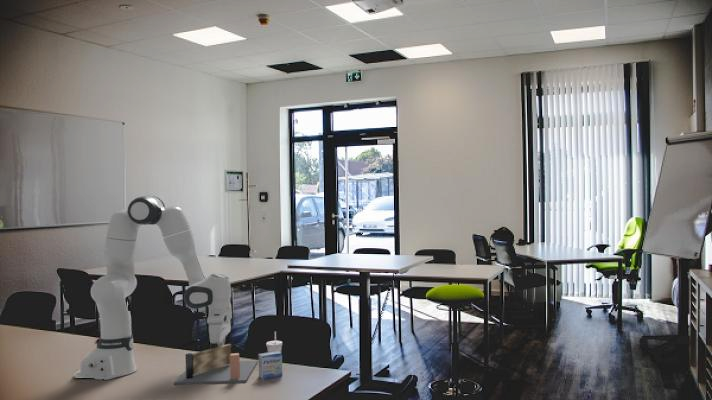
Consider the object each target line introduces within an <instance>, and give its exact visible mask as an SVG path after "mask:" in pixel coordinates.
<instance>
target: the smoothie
mask: <svg viewBox="0 0 712 400" xmlns="http://www.w3.org/2000/svg"><path fill="white" fill-rule="evenodd" d="M265 344H266V345H265V346H266V348H267V353H268V352H274V351H279V352H281V353H282V346H283V341H281V340H277V331H274V340H270V341H267V342H266V343H265Z"/></svg>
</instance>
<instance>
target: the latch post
mask: <svg viewBox="0 0 712 400" xmlns="http://www.w3.org/2000/svg"><path fill="white" fill-rule="evenodd" d="M240 359H241V357H240V353H239V352H235V353H232V352H231V355H230V378H231V379H239V378H240V361H241V360H240Z"/></svg>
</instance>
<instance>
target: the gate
mask: <svg viewBox="0 0 712 400" xmlns="http://www.w3.org/2000/svg"><path fill="white" fill-rule="evenodd" d="M231 348H232V343H227V344H224V345H223V346H219V347H218V346H216V347H213V348H209V349H205V350H201V351H197V352H194V353H192V364H193V375H195V374H198V373H202V372H205V371H208V370H211V369H215V368H218V367H221V366H224V365H228V364H230V355H231V354H232V350H231Z"/></svg>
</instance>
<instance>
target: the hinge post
mask: <svg viewBox="0 0 712 400" xmlns="http://www.w3.org/2000/svg"><path fill="white" fill-rule="evenodd" d="M192 354H193V353H191V352H190V353H189V352H188V353H186V354H185V371H186V378H187V379H190V378H193V364H192Z"/></svg>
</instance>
